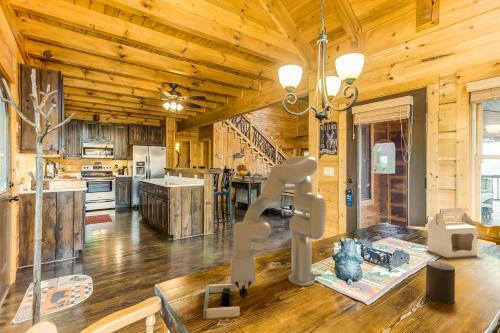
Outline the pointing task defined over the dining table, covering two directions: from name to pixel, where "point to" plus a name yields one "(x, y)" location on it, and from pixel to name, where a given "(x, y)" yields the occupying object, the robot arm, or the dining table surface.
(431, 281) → the pillar candle
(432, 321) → the dining table surface
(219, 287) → the u-shaped wooden bracket
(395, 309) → the dining table surface
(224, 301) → the black boxy piece
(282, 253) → the dining table surface
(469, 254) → the gable box
